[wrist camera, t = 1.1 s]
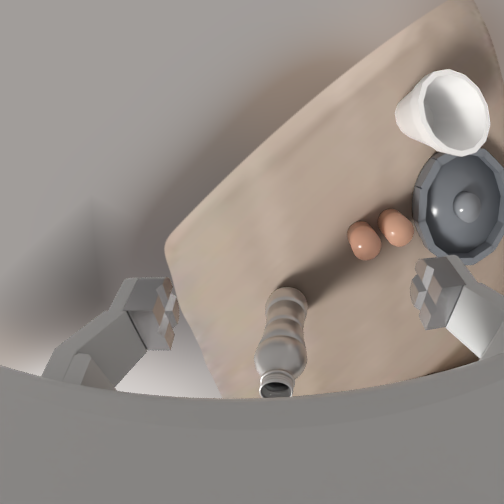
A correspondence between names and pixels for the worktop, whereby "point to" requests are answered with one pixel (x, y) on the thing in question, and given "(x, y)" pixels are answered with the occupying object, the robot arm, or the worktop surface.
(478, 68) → the worktop surface
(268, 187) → the worktop surface
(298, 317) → the plastic bottle
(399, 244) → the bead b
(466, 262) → the tray
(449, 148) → the foam cup
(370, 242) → the peach egg shape
